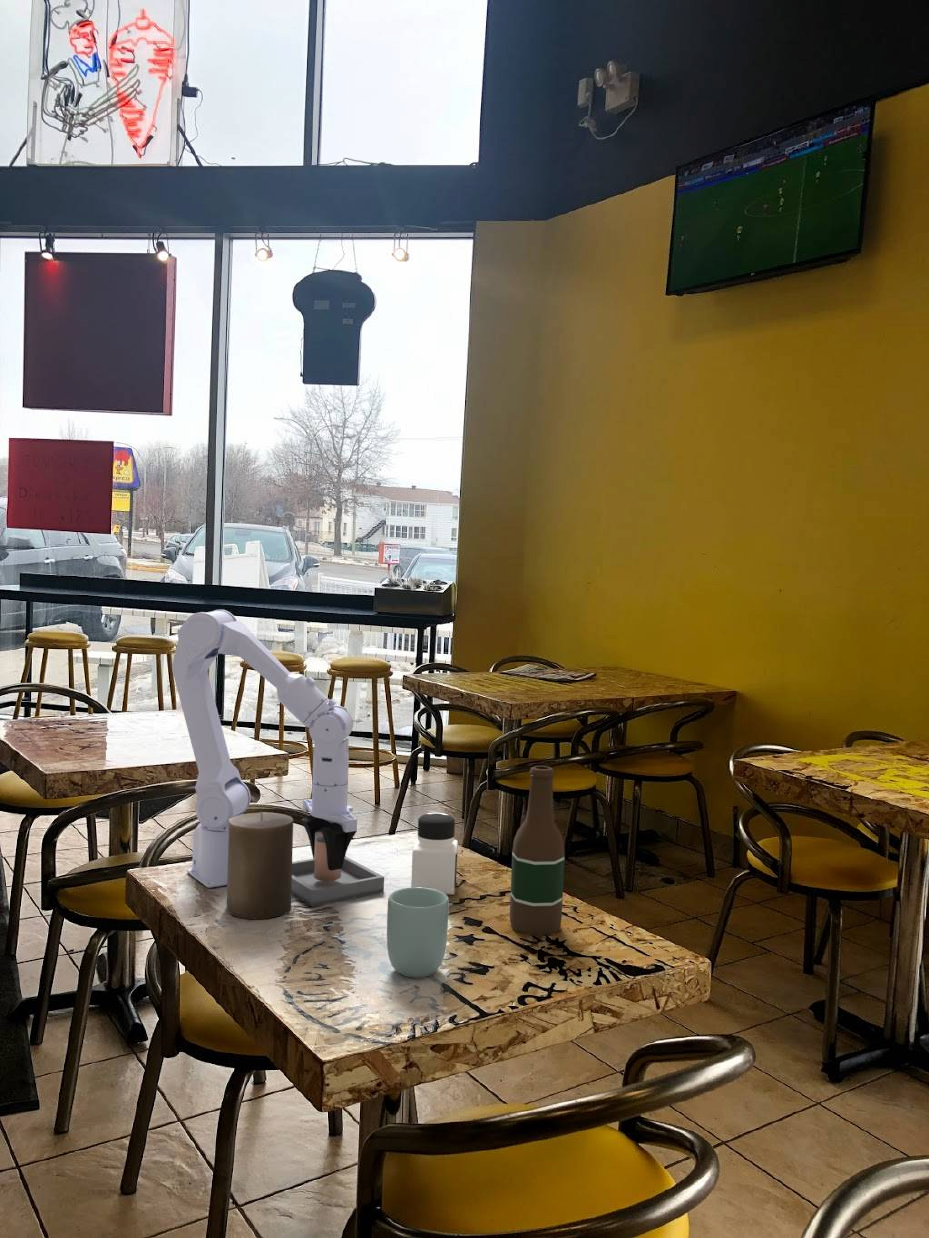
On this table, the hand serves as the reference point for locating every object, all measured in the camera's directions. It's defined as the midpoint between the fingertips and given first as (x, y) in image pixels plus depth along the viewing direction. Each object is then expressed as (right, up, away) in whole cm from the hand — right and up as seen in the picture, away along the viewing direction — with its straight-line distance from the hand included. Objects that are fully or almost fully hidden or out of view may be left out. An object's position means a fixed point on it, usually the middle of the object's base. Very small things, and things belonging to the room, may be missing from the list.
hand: (327, 864), depth 162 cm
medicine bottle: (+17, -4, +2) cm, 18 cm away
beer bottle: (+33, -6, -14) cm, 36 cm away
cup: (+16, -6, -31) cm, 36 cm away
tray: (0, -4, 0) cm, 3 cm away
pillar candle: (-9, -4, -11) cm, 15 cm away
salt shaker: (0, -2, 0) cm, 2 cm away
